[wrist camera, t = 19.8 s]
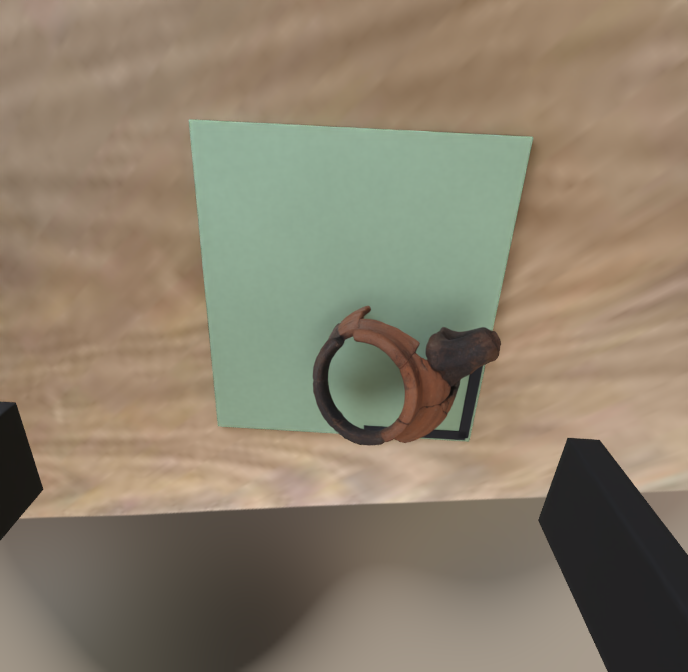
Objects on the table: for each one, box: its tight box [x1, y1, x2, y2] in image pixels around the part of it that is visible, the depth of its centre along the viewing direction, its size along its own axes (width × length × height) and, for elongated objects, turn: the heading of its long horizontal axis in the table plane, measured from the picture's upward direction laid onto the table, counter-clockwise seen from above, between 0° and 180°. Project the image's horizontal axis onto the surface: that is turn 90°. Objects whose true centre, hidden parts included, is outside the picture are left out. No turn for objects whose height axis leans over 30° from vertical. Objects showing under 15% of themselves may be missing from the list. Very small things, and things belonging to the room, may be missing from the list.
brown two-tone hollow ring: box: [313, 306, 501, 445], centre depth 29 cm, size 12×10×8 cm
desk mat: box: [189, 120, 533, 442], centre depth 31 cm, size 20×22×1 cm
